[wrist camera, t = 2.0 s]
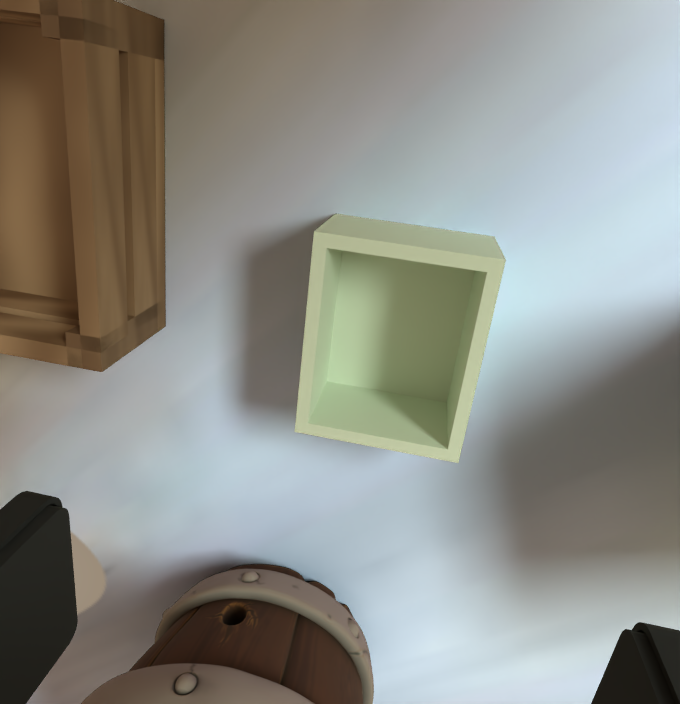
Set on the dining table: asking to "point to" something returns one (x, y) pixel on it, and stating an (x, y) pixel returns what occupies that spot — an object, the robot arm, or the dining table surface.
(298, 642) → the flowerpot
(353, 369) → the small crate
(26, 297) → the large crate
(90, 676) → the dining table surface
